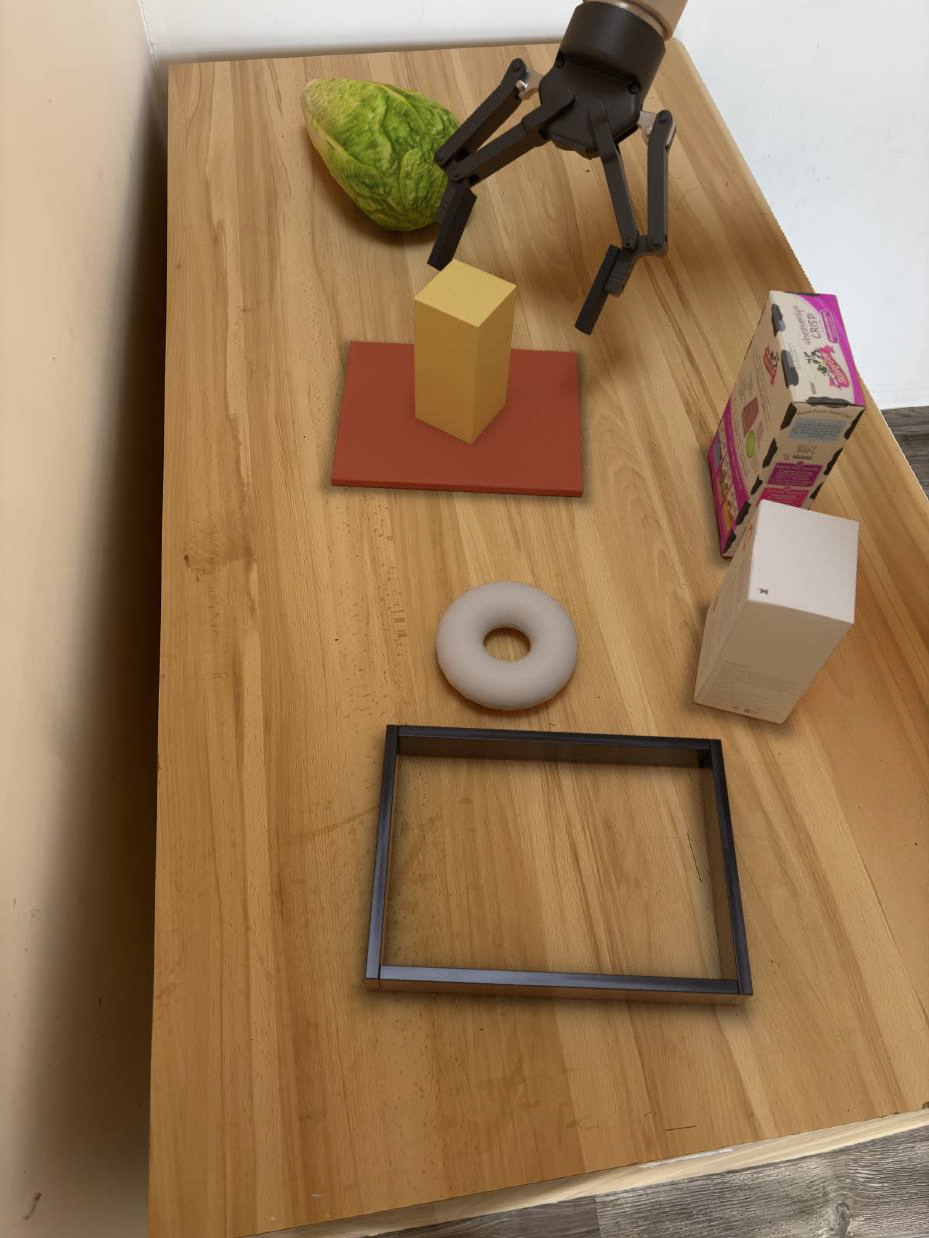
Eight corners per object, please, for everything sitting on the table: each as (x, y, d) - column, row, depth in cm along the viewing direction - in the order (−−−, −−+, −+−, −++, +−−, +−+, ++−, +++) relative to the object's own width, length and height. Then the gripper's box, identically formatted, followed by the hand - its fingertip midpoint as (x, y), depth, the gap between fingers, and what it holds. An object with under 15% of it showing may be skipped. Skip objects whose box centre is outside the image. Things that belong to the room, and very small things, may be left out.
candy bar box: (785, 563, 72) (871, 408, 58) (720, 559, 72) (791, 403, 58) (765, 454, 78) (839, 290, 64) (705, 451, 78) (766, 286, 64)
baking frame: (709, 757, 63) (721, 738, 60) (738, 1005, 54) (753, 995, 52) (387, 743, 62) (386, 723, 60) (367, 989, 54) (364, 978, 51)
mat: (575, 358, 83) (576, 351, 82) (582, 497, 74) (583, 490, 74) (351, 347, 83) (350, 340, 82) (331, 485, 74) (330, 478, 74)
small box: (782, 727, 64) (856, 626, 53) (691, 703, 65) (745, 599, 54) (792, 631, 68) (862, 519, 57) (706, 610, 69) (758, 496, 58)
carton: (505, 404, 79) (517, 285, 68) (471, 445, 76) (478, 327, 66) (450, 379, 80) (453, 258, 70) (415, 417, 77) (413, 298, 67)
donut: (434, 719, 64) (581, 719, 64) (434, 696, 61) (587, 696, 61) (436, 597, 69) (571, 597, 69) (435, 570, 66) (576, 571, 66)
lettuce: (378, 55, 100) (284, 1, 91) (515, 153, 88) (423, 102, 79) (332, 163, 106) (238, 123, 96) (455, 269, 94) (362, 235, 85)
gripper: (781, 96, 70) (654, 365, 76) (495, 1, 76) (398, 255, 82) (777, 52, 63) (638, 352, 69) (464, -49, 69) (359, 232, 75)
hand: (507, 300), depth 75 cm, fingers open, 13 cm apart
